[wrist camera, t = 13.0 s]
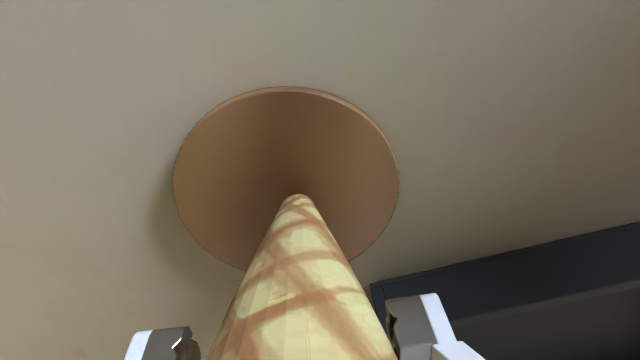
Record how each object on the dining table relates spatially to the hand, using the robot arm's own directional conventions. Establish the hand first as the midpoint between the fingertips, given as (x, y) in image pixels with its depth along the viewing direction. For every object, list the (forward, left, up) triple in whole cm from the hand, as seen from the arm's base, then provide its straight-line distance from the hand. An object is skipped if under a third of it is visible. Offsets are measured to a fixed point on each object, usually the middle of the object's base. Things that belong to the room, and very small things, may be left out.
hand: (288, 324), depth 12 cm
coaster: (0, 0, -7) cm, 7 cm away
